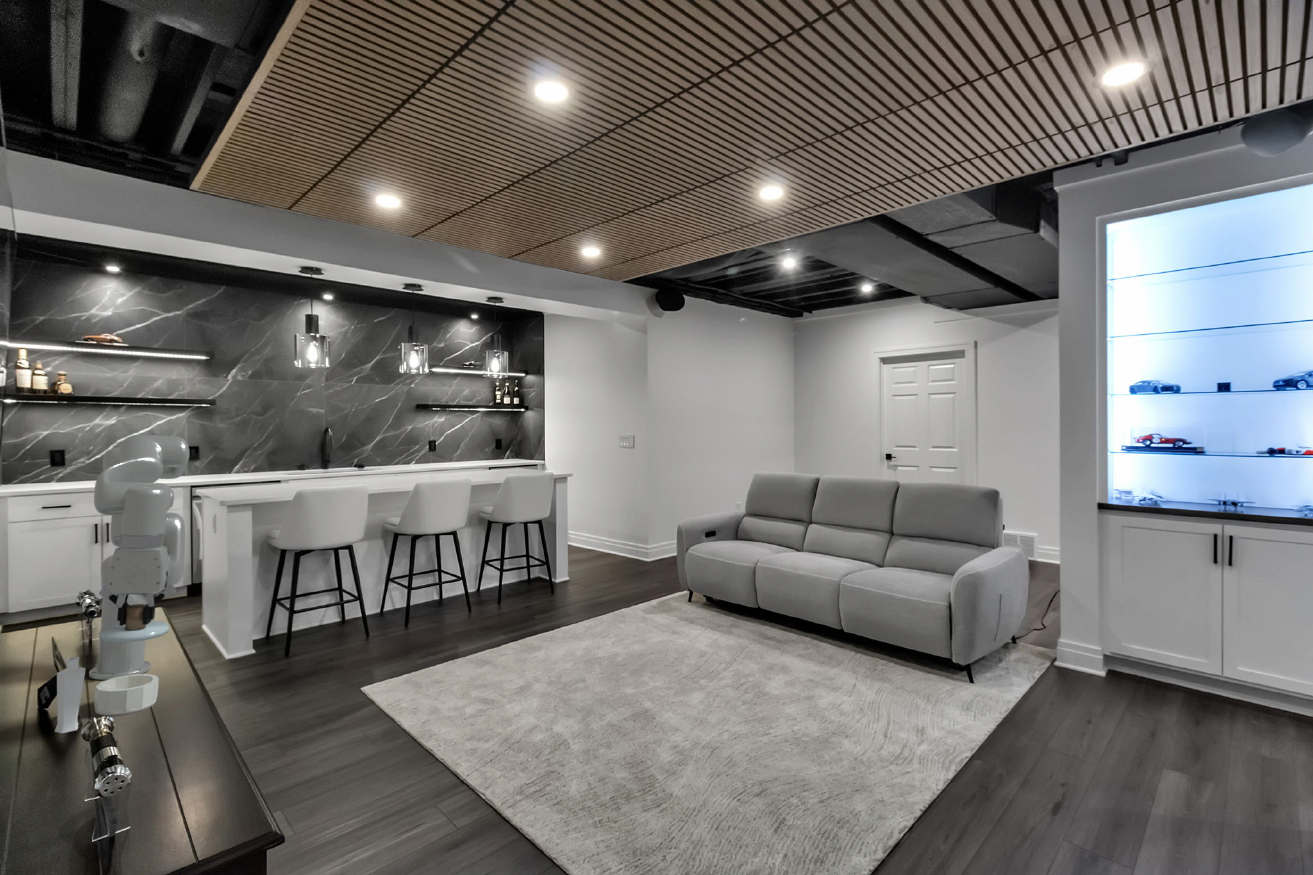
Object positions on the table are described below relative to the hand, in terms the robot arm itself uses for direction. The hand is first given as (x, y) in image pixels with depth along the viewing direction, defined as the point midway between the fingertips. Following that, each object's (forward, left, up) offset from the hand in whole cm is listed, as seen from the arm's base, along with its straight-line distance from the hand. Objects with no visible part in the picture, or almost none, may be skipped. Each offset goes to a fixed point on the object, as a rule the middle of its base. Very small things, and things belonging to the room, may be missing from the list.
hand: (135, 622), depth 142 cm
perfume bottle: (+2, -10, -22) cm, 24 cm away
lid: (0, 0, -2) cm, 2 cm away
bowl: (-9, -3, -22) cm, 24 cm away
